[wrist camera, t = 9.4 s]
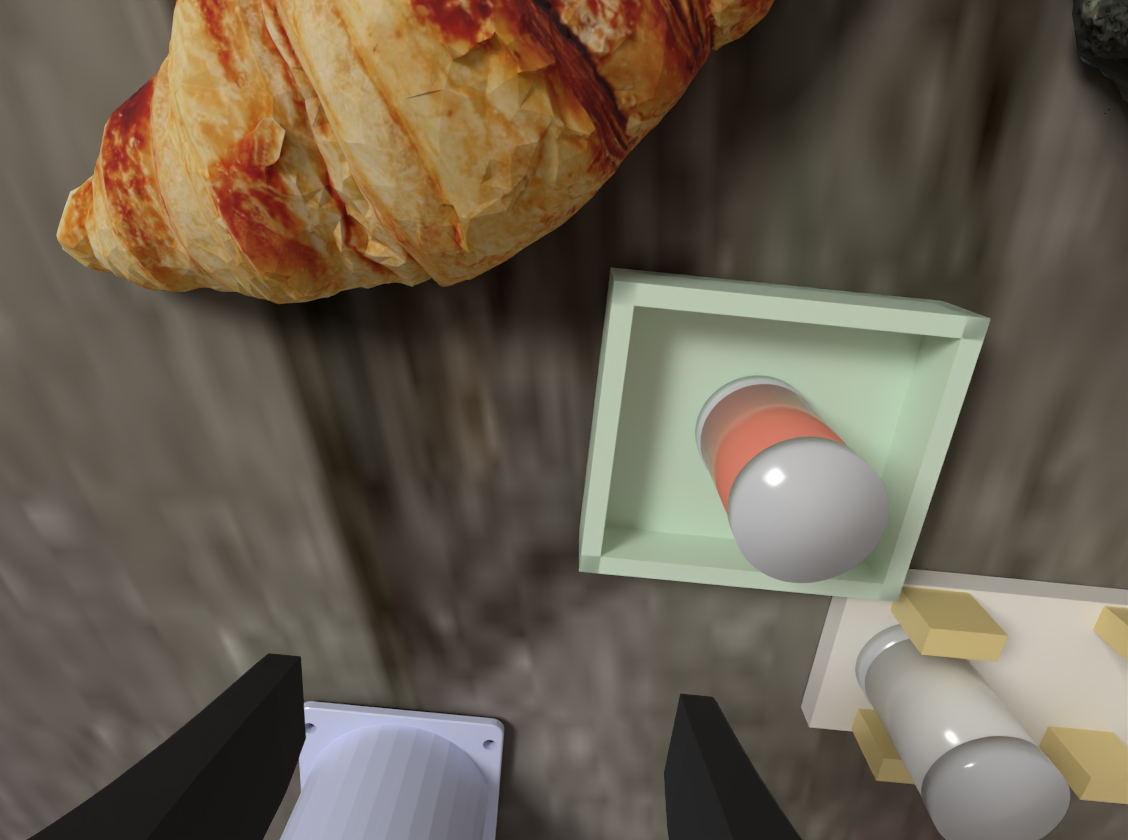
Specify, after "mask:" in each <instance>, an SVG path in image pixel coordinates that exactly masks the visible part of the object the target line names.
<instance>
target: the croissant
mask: <svg viewBox="0 0 1128 840" xmlns="http://www.w3.org/2000/svg"><path fill="white" fill-rule="evenodd" d="M774 1H775V0H177V2H176V6H175V11H174V17H173V26H172V36H171V41H170V44H169V54H168V56H167V57H166V59H165V60H164V62H163V63H162V65H161V67H160V70H159V72H157V73H156V74H155V75H154V76H153V77H152V78H151V79H150V80H149V81H148V82H147V83H146V84H144V85H143V86H142V87H141V88H140V89H139V90H138V91H137V92H136V93H134V94H133V95H132V96H131V97H130V98H129V99H128V100H126V101H125V102H124V103H123V104H122V105H121V106H120V107H119V108H117V109H116V110H115V111H114V112H113V113H112V115H111V117H110V118H109V120H108V121H107V123H106V125H105V127H104V133H103V139H102V144H101V150H100V155H99V157H98V160H97V164H96V168H95V170H94V175H93V176H92V177H90V178H89V179H88V180H87V181H86V182H84V183H83V184H82V185H81V186H80V187H78V188H76V189H75V190H73V191H71V192H70V195H69V197H68V200H67V203H66V206H65V208H64V211H63V215H62V218H61V221H60V225H59V228H58V232H57V239H58V241H59V243H60V244H61V246H62V249H63V250H64V251H66V252H67V253H68V254H70V255H71V256H72V257H74V258H75V259H76V260H78V261H79V262H80V263H82V264H83V265H84V266H86V267H88V268H91V269H94V270H97V271H103V272H109V273H114V274H115V275H117V276H118V277H120V278H124V279H127V280H129V281H131V282H133V283H135V284H137V285H139V286H141V287H143V288H146V289H150V290H154V291H155V290H167V291H171V292H185V291H190V290H194V289H198V288H202V287H204V288H212V289H214V290H218V291H221V292H239V293H241V294H243V295H246V296H251V297H256V298H260V299H266V300H268V301H271V302H274V303H277V304H284V303H296V302H308V301H312V300H315V299H319V298H324V297H330V296H333V295H336V294H337V293H339V292H340V291H344V290H348V289H353V288H358V287H364V288H367V289H368V288H372V287H375V286H378V285H381V284H388V283H394V282H397V283H403V284H406V285H408V286H411V287H412V286H414V285H417V284H419V283H422V282H424V281H427V280H430V278H433V279H434V280H435V281H436V282H437V283H438V285H440V286H442V287H445V286H450V285H453V284H455V283H457V282H463V281H465V280H470V279H472V278H474V277H476V276H478V275H480V274H482V273H484V272H486V271H488V270H490V269H492V268H493V267H495V266H497V265H499V264H501V263H503V262H505V261H507V260H508V259H509V258H511V257H512V256H514V255H515V254H516V253H518V252H519V251H521V250H522V249H524V248H525V247H527V246H528V245H530V244H532V243H533V242H535V241H537V240H538V239H540V238H542V237H543V236H545V235H546V234H548V233H550V232H551V231H553V230H555V229H556V228H558V227H559V226H561V225H562V224H564V223H565V222H566V221H567V220H568V219H569V218H570V217H571V216H573V215H574V214H575V213H576V212H577V211H578V210H579V209H580V208H581V207H582V206H583V205H585V204H586V203H587V202H588V201H589V200H590V199H591V198H592V197H593V196H594V195H595V194H596V192H597V191H598V190H599V189H600V188H601V186H602V185H603V184H604V183H605V182H606V181H607V180H608V179H609V178H610V177H611V176H612V175H613V174H614V173H615V172H616V170H617V169H618V167H619V165H620V164H621V162H622V161H623V159H624V158H625V157H626V156H627V155H628V154H629V153H630V152H631V151H632V150H633V149H634V147H635V146H636V145H637V144H638V143H639V142H640V141H641V140H642V139H643V138H644V137H645V135H646V134H647V133H648V132H649V131H651V130H652V129H653V128H654V127H655V126H657V125H658V123H659V122H660V121H661V119H662V118H663V117H664V116H665V115H666V114H667V113H668V112H669V110H670V109H671V108H672V107H673V106H674V105H675V104H676V103H677V102H678V100H679V99H680V98H681V97H682V96H683V94H684V93H685V91H686V89H687V88H688V86H689V85H690V83H691V82H692V80H693V79H694V77H695V76H696V74H697V72H698V71H699V70H700V68H701V67H702V66H703V65H704V63H705V62H706V61H707V60H708V58H709V55H710V52H711V50H718V49H719V48H720V47H721V46H723V45H725V44H727V43H729V42H731V41H734V40H736V39H738V38H740V37H742V36H743V35H744V34H745V33H747V32H748V31H749V30H750V29H751V28H752V27H754V26H755V25H756V24H757V23H758V22H759V21H760V20H762V19H763V18H764V17H765V16H766V15H767V13H768V12H769V10H770V8H771V6H772V5H773V3H774Z"/></svg>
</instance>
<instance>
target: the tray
mask: <svg viewBox="0 0 1128 840" xmlns="http://www.w3.org/2000/svg"><path fill="white" fill-rule="evenodd" d="M989 322H990V318H987V317H985V316H982V315H979V314H977V313H974V312H971V311H969V310H966V309H963V308H960V307H958V306H955V305H952V304H950V303H947V302H944V301H938V300H928V299H918V298H908V297H899V296H889V295H879V294H869V293H859V292H849V291H839V290H829V289H820V288H810V287H800V286H790V285H780V284H770V283H760V282H750V281H740V280H731V279H721V278H711V277H701V276H691V275H681V274H671V273H661V272H651V271H642V270H632V269H622V268H612V267H611V268H610V276H609V285H608V293H607V302H606V310H605V318H604V327H603V335H602V344H601V352H600V360H599V369H598V377H597V386H596V394H595V402H594V411H593V419H592V428H591V436H590V444H589V453H588V461H587V470H586V478H585V486H584V495H583V503H582V512H581V520H580V528H579V571H580V572H590V573H600V574H611V575H621V576H631V577H642V578H652V579H663V580H673V581H683V582H694V583H704V584H715V585H725V586H735V587H746V588H756V589H766V590H777V591H787V592H798V593H808V594H818V595H829V596H839V597H850V598H860V599H870V600H881V601H891V602H898V599H899V596H900V593H901V590H902V586H903V583H904V580H905V577H906V574H907V571H908V568H909V565H910V562H911V559H912V556H913V553H914V550H915V547H916V544H917V541H918V538H919V535H920V532H921V529H922V526H923V523H924V520H925V517H926V514H927V511H928V508H929V504H930V501H931V498H932V495H933V492H934V489H935V486H936V483H937V480H938V477H939V474H940V471H941V468H942V465H943V462H944V459H945V456H946V453H947V450H948V447H949V444H950V441H951V438H952V435H953V432H954V429H955V426H956V423H957V419H958V416H959V413H960V410H961V407H962V404H963V401H964V398H965V395H966V392H967V389H968V386H969V383H970V380H971V377H972V374H973V371H974V368H975V365H976V362H977V359H978V356H979V353H980V350H981V347H982V344H983V341H984V337H985V334H986V331H987V328H988V325H989ZM754 375H763V376H770V377H774V378H778V379H780V380H782V381H785V382H786V383H788V384H790V385H791V386H792V387H794V388H795V389H796V390H797V391H798V392H799V393H800V394H801V395H802V396H803V397H804V398H805V399H806V400H807V401H808V403H809V404H810V406H811V407H812V409H813V410H814V411H815V412H816V413H817V414H818V415H819V416H820V417H821V418H822V420H823V421H824V422H825V423H826V424H827V425H828V426H829V427H830V428H831V429H832V430H833V431H834V432H835V433H836V434H837V435H838V436H839V437H840V438H841V439H842V440H843V441H844V442H845V444H846V445H847V446H848V447H850V448H851V449H853V450H854V451H855V452H857V453H858V454H859V455H860V456H861V457H862V458H863V459H864V460H865V461H866V462H867V463H868V464H869V465H870V466H871V467H872V469H873V470H874V471H875V472H876V473H877V474H878V476H879V477H880V479H881V480H882V482H883V484H884V487H885V489H886V492H887V496H888V503H889V513H888V520H887V524H886V527H885V530H884V533H883V535H882V537H881V539H880V541H879V542H878V544H877V545H876V546H875V548H874V549H873V550H872V552H871V553H870V554H869V555H868V556H867V557H866V558H865V559H864V560H863V561H862V562H860V563H859V564H858V565H856V566H855V567H853V568H852V569H850V570H849V571H847V572H845V573H843V574H841V575H839V576H836V577H834V578H831V579H827V580H824V581H819V582H813V583H792V582H785V581H781V580H777V579H774V578H772V577H769V576H767V575H765V574H764V573H762V572H760V571H759V570H757V569H756V568H755V567H753V566H752V565H751V564H750V563H749V562H748V561H747V560H746V558H745V557H744V556H743V554H742V553H741V551H740V549H739V547H738V545H737V543H736V540H735V538H734V535H733V533H732V530H731V528H730V525H729V521H728V516H727V513H726V511H725V509H724V506H723V504H722V502H721V499H720V497H719V494H718V492H717V490H716V487H715V485H714V483H713V480H712V478H711V475H710V473H709V471H708V470H707V468H706V466H705V465H704V463H703V461H702V458H701V456H700V453H699V451H698V448H697V444H696V439H695V428H696V422H697V418H698V416H699V413H700V411H701V409H702V407H703V405H704V404H705V402H706V401H707V400H708V399H709V397H710V396H711V395H712V394H713V393H714V392H716V391H717V390H718V389H719V388H721V387H722V386H724V385H725V384H727V383H729V382H731V381H733V380H736V379H739V378H742V377H746V376H754Z"/></svg>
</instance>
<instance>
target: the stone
mask: <svg viewBox="0 0 1128 840" xmlns="http://www.w3.org/2000/svg"><path fill="white" fill-rule="evenodd" d="M1072 16H1073V22H1074V28H1075V35H1076V41H1077V47H1078V53H1079V56H1080V58H1081V59H1082V61H1084V62H1085V63H1087V64H1088V65H1089V66H1092V67H1095V68H1099V69H1100V71H1101V72H1102V73H1103V74H1104V75H1105V76H1106V77H1107V78H1108V79H1109V80H1110V81H1111V82H1112V84H1113V85H1114V86H1116V87H1118V88H1119V89H1120V93H1121V97H1122V99H1123V101H1126V102H1128V0H1074V6H1073V12H1072ZM1108 110H1110V109H1108ZM1104 114H1106V113H1104Z"/></svg>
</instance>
